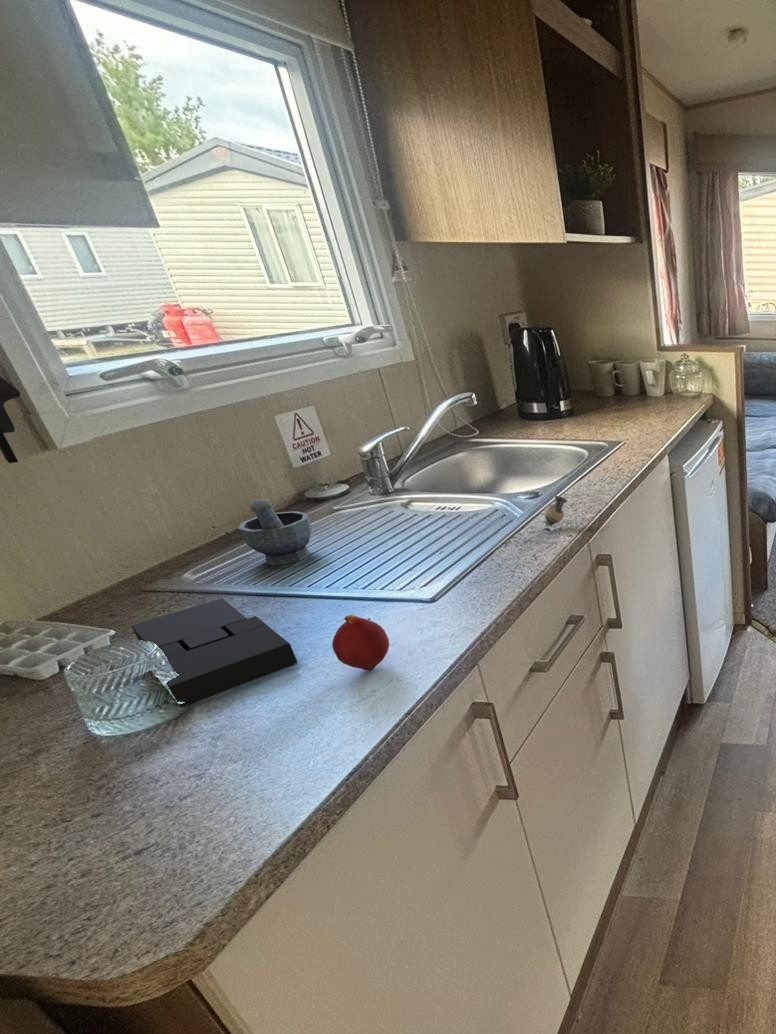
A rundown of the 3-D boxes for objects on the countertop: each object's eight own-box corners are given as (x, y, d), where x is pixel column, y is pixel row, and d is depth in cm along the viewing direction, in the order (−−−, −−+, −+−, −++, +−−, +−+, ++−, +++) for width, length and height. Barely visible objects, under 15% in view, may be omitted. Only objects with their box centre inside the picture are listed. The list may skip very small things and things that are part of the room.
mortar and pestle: (259, 553, 116) (232, 488, 111) (321, 543, 121) (299, 480, 115) (250, 577, 108) (220, 507, 102) (318, 565, 112) (293, 498, 106)
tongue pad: (141, 644, 89) (130, 625, 88) (230, 616, 96) (222, 597, 95) (170, 678, 82) (159, 658, 80) (264, 645, 89) (256, 626, 87)
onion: (362, 656, 86) (343, 602, 83) (405, 657, 86) (388, 603, 83) (333, 681, 81) (311, 625, 78) (378, 682, 81) (358, 626, 78)
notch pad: (152, 672, 83) (141, 652, 81) (263, 634, 91) (255, 615, 90) (180, 707, 76) (169, 686, 75) (297, 662, 85) (289, 643, 84)
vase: (565, 520, 132) (560, 491, 129) (577, 527, 128) (572, 498, 126) (539, 526, 129) (533, 497, 126) (550, 534, 125) (545, 504, 122)
